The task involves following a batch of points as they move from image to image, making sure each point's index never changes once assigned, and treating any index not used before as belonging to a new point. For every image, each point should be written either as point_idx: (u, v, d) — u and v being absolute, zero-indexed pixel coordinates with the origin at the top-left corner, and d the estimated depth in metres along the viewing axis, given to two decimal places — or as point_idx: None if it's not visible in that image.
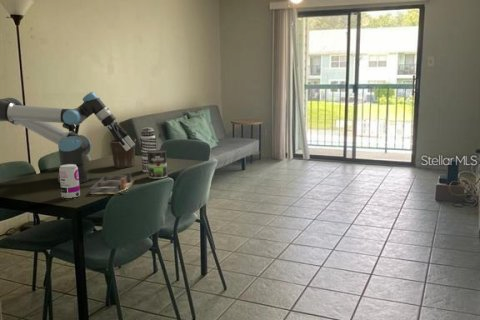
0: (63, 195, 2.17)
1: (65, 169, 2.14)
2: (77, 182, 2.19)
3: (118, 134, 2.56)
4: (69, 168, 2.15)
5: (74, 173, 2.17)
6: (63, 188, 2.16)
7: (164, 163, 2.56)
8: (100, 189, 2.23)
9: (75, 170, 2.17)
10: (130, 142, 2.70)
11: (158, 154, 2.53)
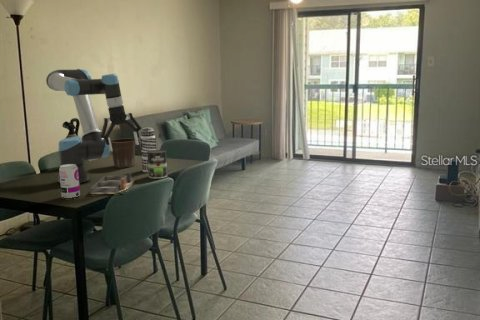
0: (63, 195, 2.17)
1: (65, 169, 2.14)
2: (77, 182, 2.19)
3: (108, 131, 2.32)
4: (69, 168, 2.15)
5: (74, 173, 2.17)
6: (63, 188, 2.16)
7: (164, 163, 2.56)
8: (100, 189, 2.23)
9: (75, 170, 2.17)
10: (135, 139, 2.40)
11: (158, 154, 2.53)
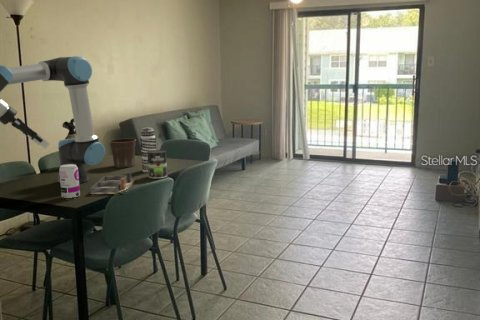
0: (63, 195, 2.17)
1: (65, 169, 2.14)
2: (77, 182, 2.19)
3: (21, 130, 2.10)
4: (69, 168, 2.15)
5: (74, 173, 2.17)
6: (63, 188, 2.16)
7: (164, 163, 2.56)
8: (100, 189, 2.23)
9: (75, 170, 2.17)
10: None
11: (158, 154, 2.53)
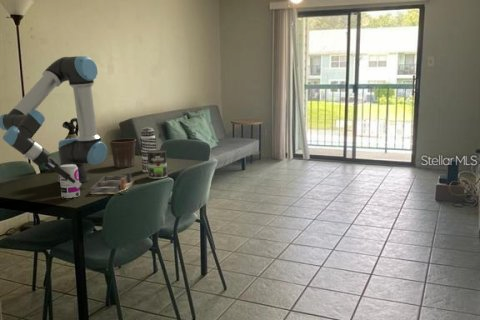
0: (63, 195, 2.17)
1: (65, 169, 2.14)
2: None
3: None
4: (69, 168, 2.15)
5: (74, 173, 2.17)
6: (63, 188, 2.16)
7: (164, 163, 2.56)
8: (100, 189, 2.23)
9: (75, 170, 2.17)
10: None
11: (158, 154, 2.53)
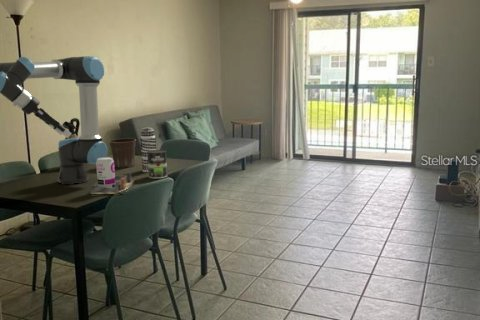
0: (100, 187, 2.26)
1: (103, 162, 2.23)
2: (113, 174, 2.28)
3: (44, 120, 2.14)
4: (106, 161, 2.24)
5: (111, 165, 2.26)
6: (100, 180, 2.25)
7: (164, 163, 2.56)
8: (100, 189, 2.23)
9: (111, 163, 2.26)
10: None
11: (158, 154, 2.53)
